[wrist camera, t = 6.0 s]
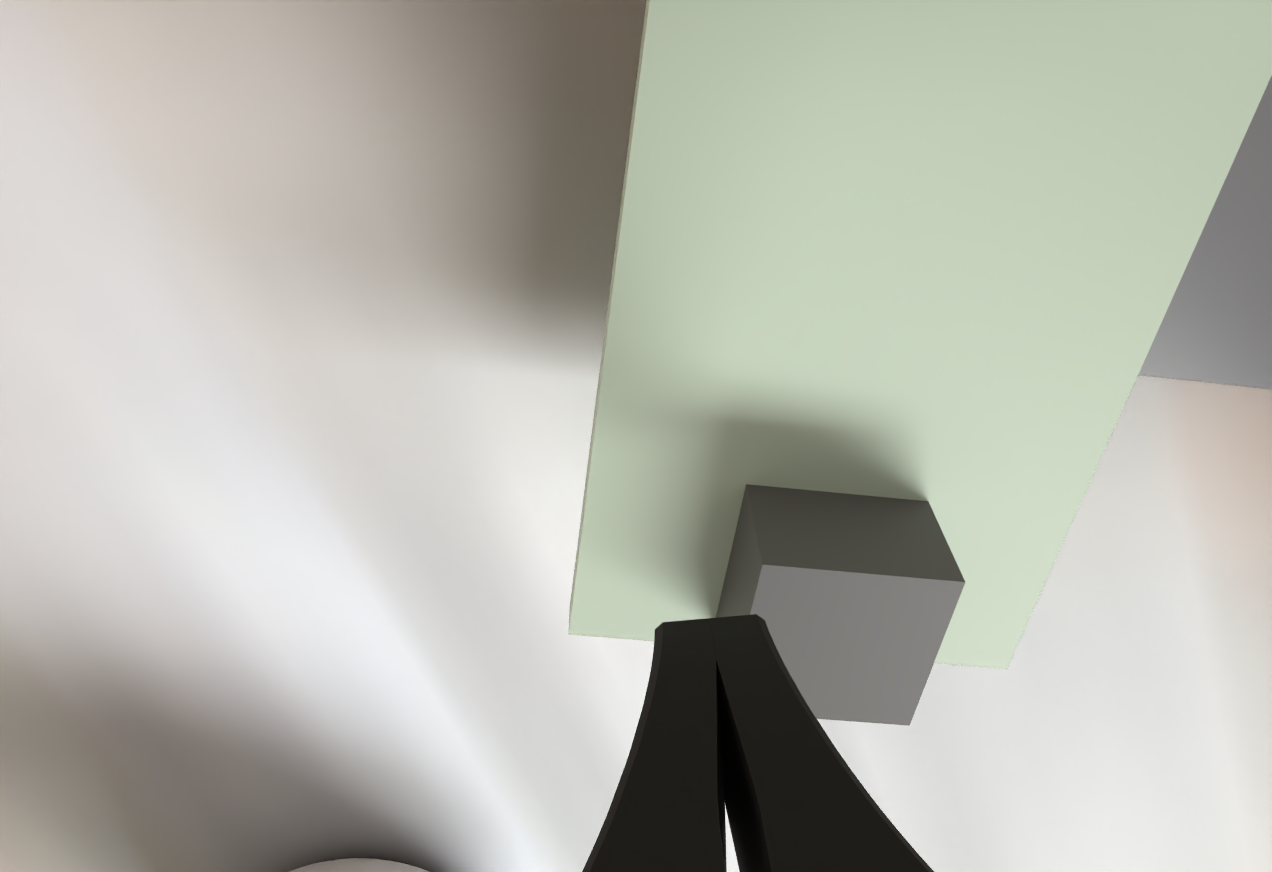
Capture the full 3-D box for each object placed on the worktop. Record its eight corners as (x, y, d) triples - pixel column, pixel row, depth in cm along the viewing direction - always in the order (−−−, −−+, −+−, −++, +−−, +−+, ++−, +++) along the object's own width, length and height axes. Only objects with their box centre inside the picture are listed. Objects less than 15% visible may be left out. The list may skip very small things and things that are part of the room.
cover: (994, 642, 19) (1047, 756, 17) (569, 607, 18) (564, 722, 16) (1447, -416, 11) (1671, -473, 9) (716, -553, 10) (748, -654, 8)
